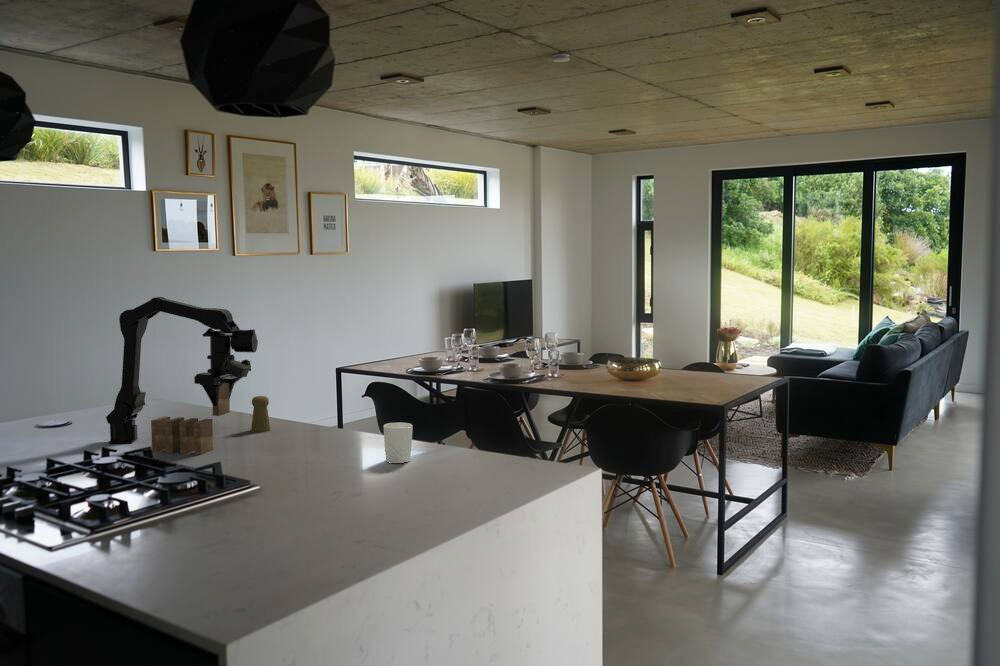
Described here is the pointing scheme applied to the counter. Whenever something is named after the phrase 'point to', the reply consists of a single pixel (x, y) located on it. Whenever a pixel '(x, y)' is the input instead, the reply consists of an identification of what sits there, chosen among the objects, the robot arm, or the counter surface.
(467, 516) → the counter surface
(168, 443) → the walnut domino
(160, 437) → the walnut domino
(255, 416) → the olive yellow rounded piece
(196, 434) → the walnut domino
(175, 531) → the counter surface
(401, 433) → the white cup
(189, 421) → the walnut domino
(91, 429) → the counter surface
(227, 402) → the walnut domino
